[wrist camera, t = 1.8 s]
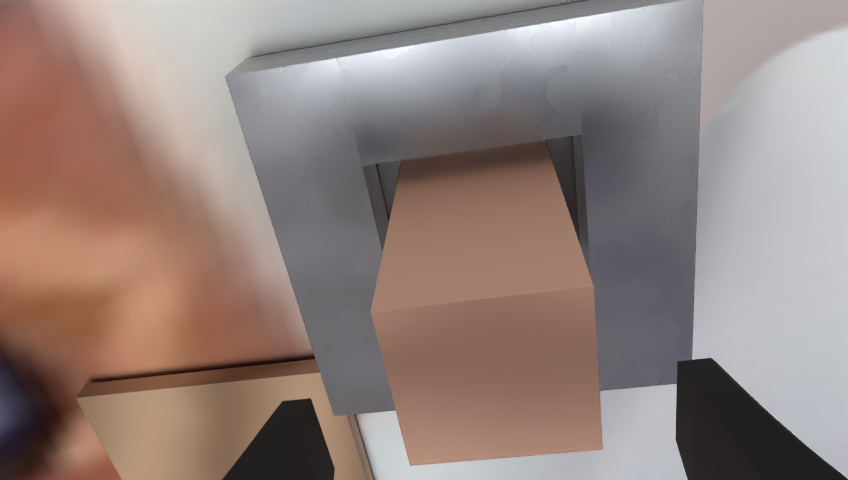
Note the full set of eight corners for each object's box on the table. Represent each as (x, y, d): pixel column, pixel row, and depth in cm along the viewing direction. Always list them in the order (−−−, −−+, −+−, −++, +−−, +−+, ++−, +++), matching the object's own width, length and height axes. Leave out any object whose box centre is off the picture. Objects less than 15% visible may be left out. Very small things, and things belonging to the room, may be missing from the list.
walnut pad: (336, 356, 24) (333, 371, 23) (389, 533, 28) (388, 550, 28) (86, 383, 25) (75, 398, 24) (177, 549, 30) (170, 565, 29)
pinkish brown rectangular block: (545, 139, 19) (593, 286, 12) (556, 264, 22) (602, 449, 15) (401, 160, 20) (370, 311, 13) (426, 280, 22) (410, 465, 15)
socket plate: (678, -15, 17) (703, -3, 15) (673, 343, 23) (691, 381, 21) (247, 58, 19) (224, 76, 17) (342, 377, 24) (333, 416, 23)
